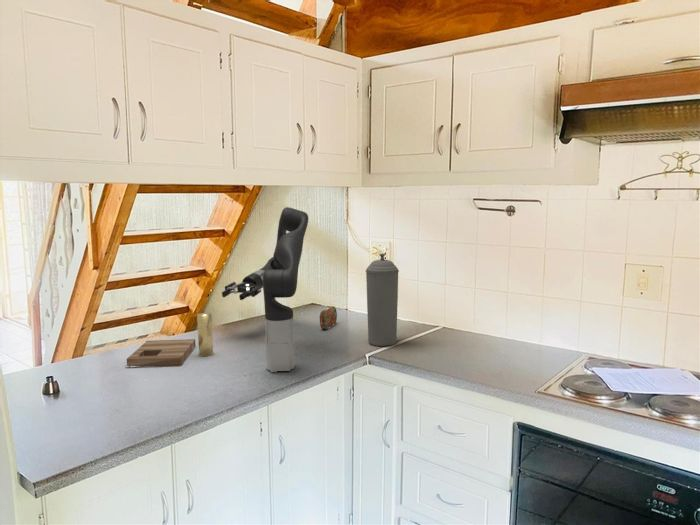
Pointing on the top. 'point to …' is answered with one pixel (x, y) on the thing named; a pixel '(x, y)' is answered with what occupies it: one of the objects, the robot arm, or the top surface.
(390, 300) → the canister
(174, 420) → the top surface
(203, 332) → the brass cylinder
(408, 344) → the top surface
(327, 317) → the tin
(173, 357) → the jig
